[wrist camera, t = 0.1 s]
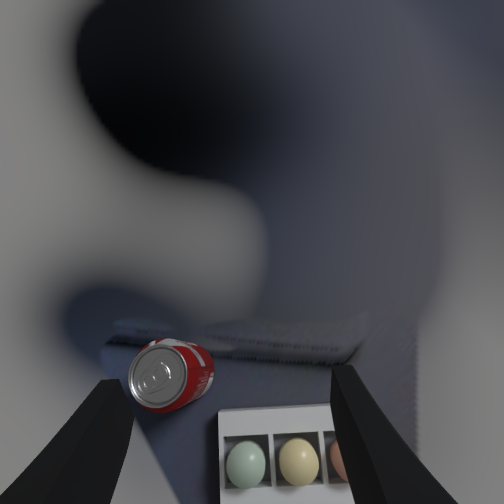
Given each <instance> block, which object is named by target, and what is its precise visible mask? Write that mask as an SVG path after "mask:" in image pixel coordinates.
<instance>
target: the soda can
mask: <svg viewBox="0 0 504 504" xmlns="http://www.w3.org/2000/svg"><path fill="white" fill-rule="evenodd" d="M213 378H214V364H213V360H212V358H211V356H210V354H209V353H208V352H207V351H206V350H205V349H204V348H203V347H201V346H199V345H196V344H193V343H188V342H184V341H179V340H174V339H159V340H155V341H153V342H151V343H149V344H147V345H146V346H145V347H143V348H142V349H141V350H140V351H139V353H138V354H137V355H136V357H135V359H134V360H133V362H132V364H131V366H130V369H129V374H128V384H129V388H130V391H131V393H132V395H133V397H134V398H135V399H136V401H137V402H138V403H139V404H140V405H141V406H142V407H144V408H145V409H147V410H149V411H152V412H156V413H166V412H170V411H173V410H176V409H178V408H180V407H182V406H184V405H186V404H188V403H190V402H192V401H194V400H196V399H198V398H200V397H201V396H202V395H204V394H205V393H206V392H207V390H208V389H209V388H210V386H211V384H212V381H213Z"/></svg>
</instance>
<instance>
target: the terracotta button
mask: <svg viewBox="0 0 504 504" xmlns="http://www.w3.org/2000/svg"><path fill="white" fill-rule="evenodd" d="M330 459H331V462H332V464H333V466H334V468H335V470H336V471H337V473H338V474H339V476H340V477H341V478H342V479H343V480H345V481H347V482H348V478H347V475H346V471H345V468H344V464H343V461H342V457H341V454H340V450H339V447H338V443H337V439H336V438H335V440H334V441H333V442H332V444H331V447H330Z"/></svg>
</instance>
